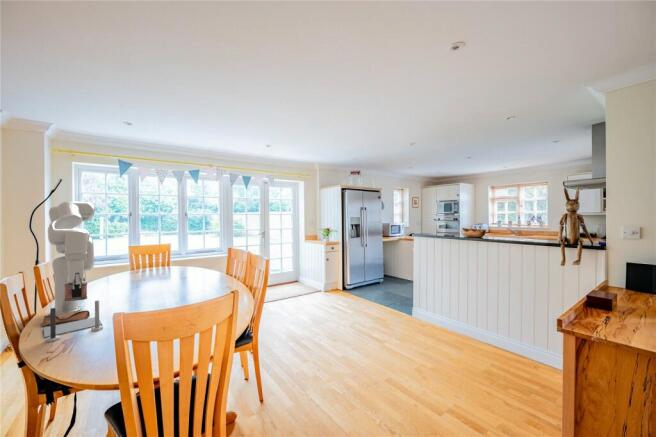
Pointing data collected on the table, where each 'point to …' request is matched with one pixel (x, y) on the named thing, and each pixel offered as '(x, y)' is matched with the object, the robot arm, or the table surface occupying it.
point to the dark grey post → (52, 326)
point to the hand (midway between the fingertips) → (76, 295)
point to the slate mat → (72, 326)
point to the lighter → (69, 291)
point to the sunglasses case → (66, 318)
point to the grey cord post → (97, 318)
